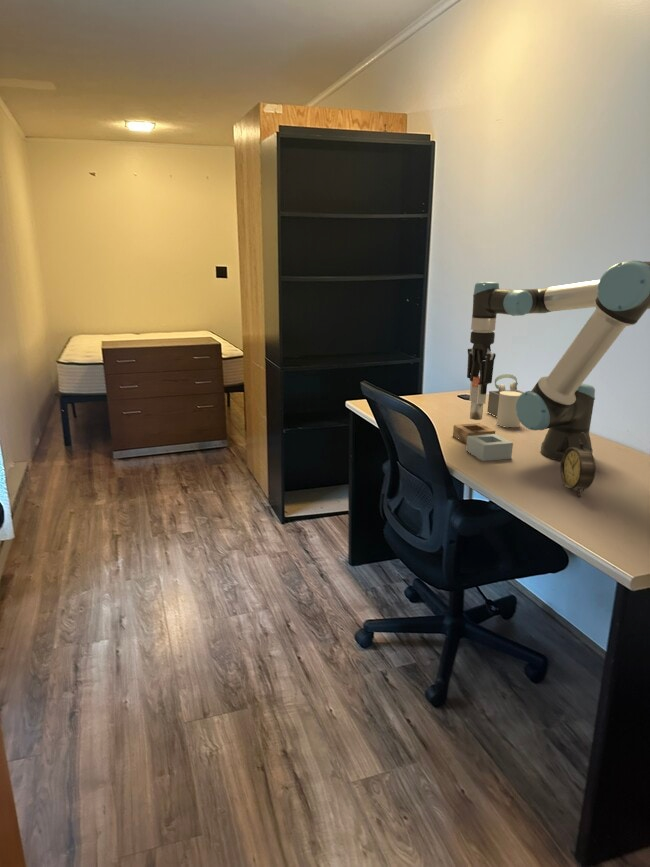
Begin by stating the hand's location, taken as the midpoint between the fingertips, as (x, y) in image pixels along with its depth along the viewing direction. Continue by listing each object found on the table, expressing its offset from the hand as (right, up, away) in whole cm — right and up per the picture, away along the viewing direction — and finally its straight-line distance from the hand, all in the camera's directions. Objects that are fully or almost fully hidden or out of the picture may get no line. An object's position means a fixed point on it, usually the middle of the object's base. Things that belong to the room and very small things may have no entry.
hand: (477, 401), depth 197 cm
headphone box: (+21, -3, +36) cm, 42 cm away
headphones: (+24, +1, +38) cm, 45 cm away
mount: (0, -12, +4) cm, 13 cm away
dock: (0, -17, -12) cm, 21 cm away
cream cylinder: (+17, -8, +22) cm, 29 cm away
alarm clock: (+16, -26, -40) cm, 50 cm away
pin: (0, -5, +2) cm, 6 cm away
